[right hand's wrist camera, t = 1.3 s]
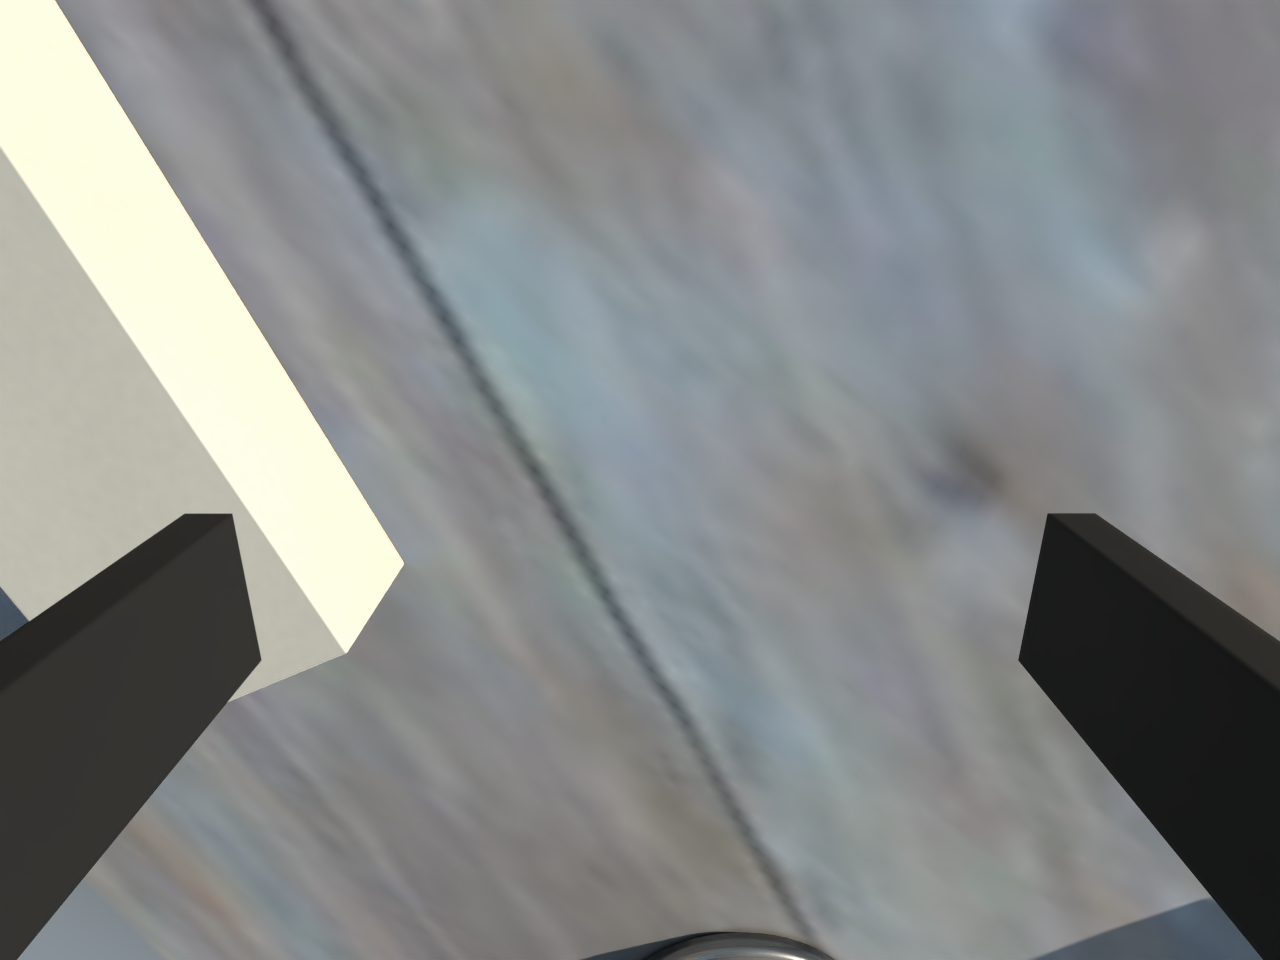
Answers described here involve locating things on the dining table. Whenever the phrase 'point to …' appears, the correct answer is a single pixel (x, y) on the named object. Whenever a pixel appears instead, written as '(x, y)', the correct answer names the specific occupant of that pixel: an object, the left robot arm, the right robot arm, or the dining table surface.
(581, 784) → the dining table surface
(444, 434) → the dining table surface
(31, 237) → the off-white long beam
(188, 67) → the dining table surface
